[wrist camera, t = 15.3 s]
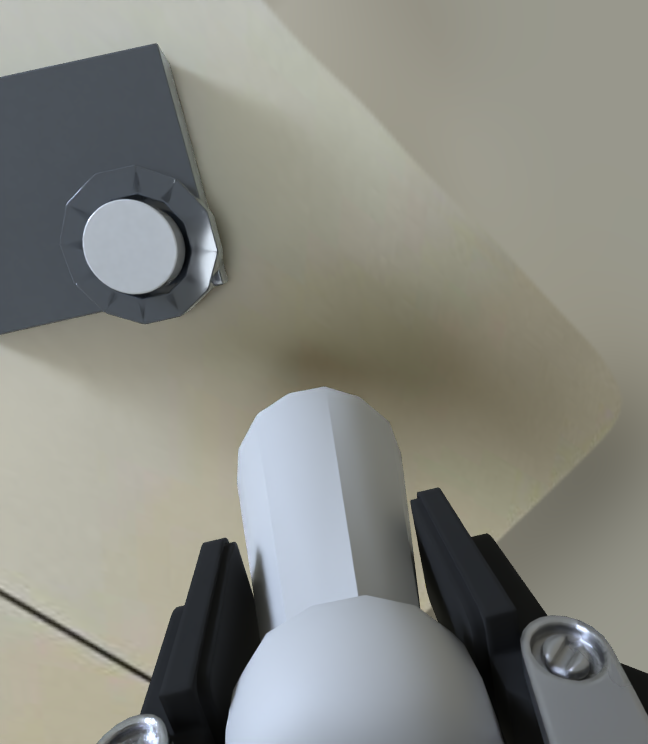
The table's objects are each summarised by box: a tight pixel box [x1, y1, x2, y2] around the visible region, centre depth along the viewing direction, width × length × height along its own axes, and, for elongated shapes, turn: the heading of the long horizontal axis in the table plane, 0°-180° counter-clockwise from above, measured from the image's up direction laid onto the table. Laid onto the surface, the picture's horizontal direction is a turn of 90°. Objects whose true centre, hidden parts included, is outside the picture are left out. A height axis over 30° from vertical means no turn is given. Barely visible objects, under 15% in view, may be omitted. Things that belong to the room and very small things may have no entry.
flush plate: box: [0, 43, 228, 335], centre depth 22 cm, size 14×12×4 cm
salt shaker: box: [225, 386, 504, 744], centre depth 12 cm, size 6×6×13 cm
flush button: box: [83, 199, 185, 294], centre depth 21 cm, size 4×4×2 cm
